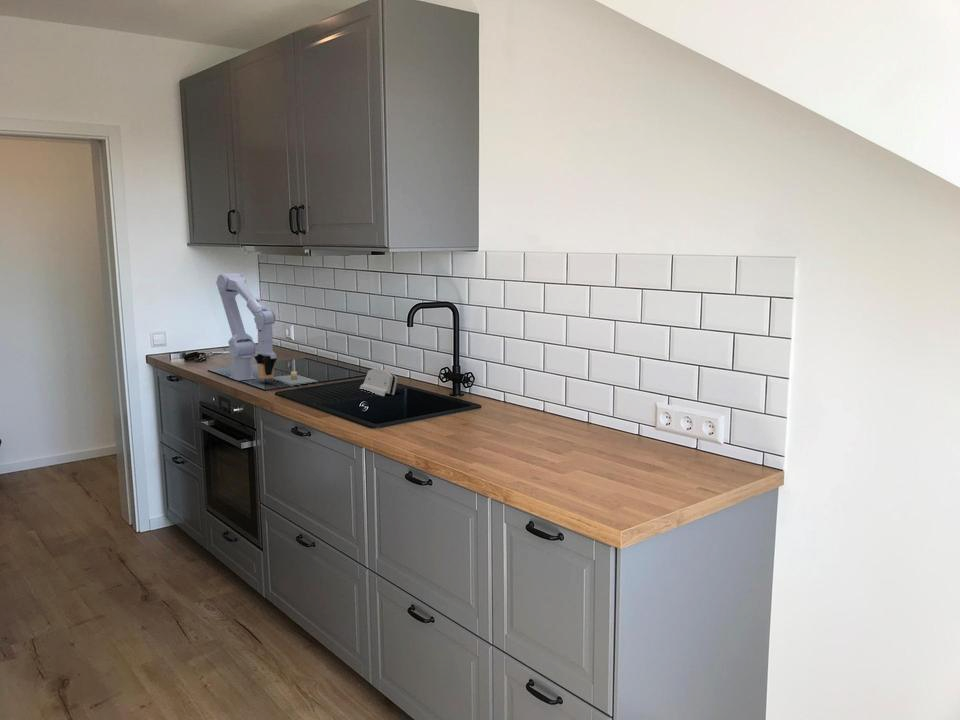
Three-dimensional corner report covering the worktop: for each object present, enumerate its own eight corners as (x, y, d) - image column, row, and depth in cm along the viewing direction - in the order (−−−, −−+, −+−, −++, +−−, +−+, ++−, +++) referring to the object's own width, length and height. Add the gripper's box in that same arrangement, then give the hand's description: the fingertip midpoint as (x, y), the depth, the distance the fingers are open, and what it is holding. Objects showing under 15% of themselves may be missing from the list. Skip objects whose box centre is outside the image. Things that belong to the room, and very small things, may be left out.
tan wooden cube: (257, 377, 321) (257, 363, 320) (268, 376, 324) (268, 362, 323) (263, 378, 318) (262, 365, 317) (273, 377, 321) (273, 364, 320)
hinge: (358, 389, 313) (366, 365, 314) (368, 392, 316) (375, 368, 317) (383, 396, 301) (391, 371, 302) (393, 399, 304) (400, 374, 305)
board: (270, 379, 329) (270, 370, 328) (296, 376, 337) (296, 367, 336) (291, 386, 316) (291, 376, 315) (318, 383, 324) (318, 373, 323)
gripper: (247, 339, 321) (248, 372, 323) (264, 343, 311) (264, 377, 313) (263, 338, 326) (264, 370, 328) (280, 342, 315) (281, 375, 317)
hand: (265, 373), depth 321 cm, fingers closed on tan wooden cube, 5 cm apart
